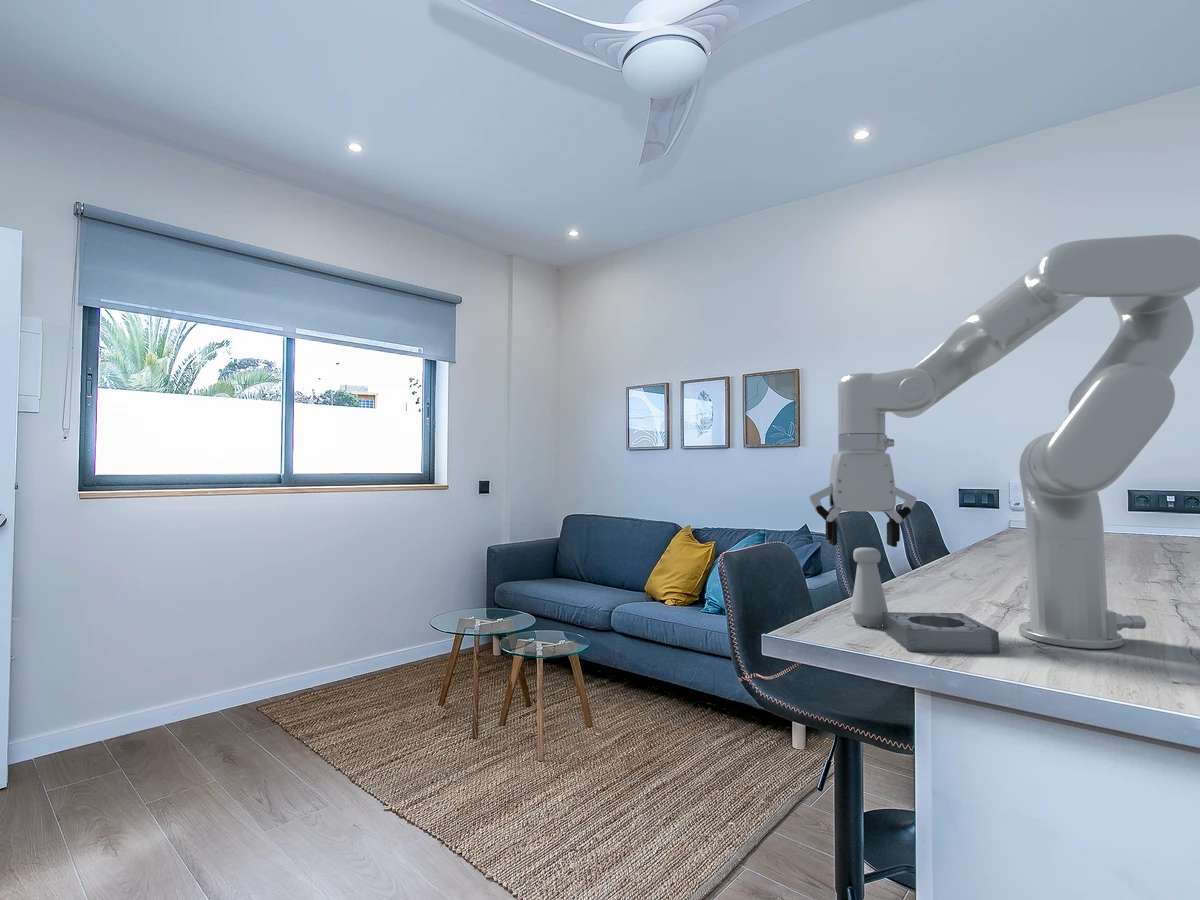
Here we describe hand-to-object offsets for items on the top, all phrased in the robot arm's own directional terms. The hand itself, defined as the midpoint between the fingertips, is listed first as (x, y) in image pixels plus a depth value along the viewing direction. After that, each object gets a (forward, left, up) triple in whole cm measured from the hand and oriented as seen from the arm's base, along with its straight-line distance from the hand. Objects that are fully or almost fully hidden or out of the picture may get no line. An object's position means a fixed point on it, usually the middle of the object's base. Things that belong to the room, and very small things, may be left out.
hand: (862, 545), depth 105 cm
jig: (-8, +10, -13) cm, 19 cm away
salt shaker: (-1, 0, -14) cm, 14 cm away
